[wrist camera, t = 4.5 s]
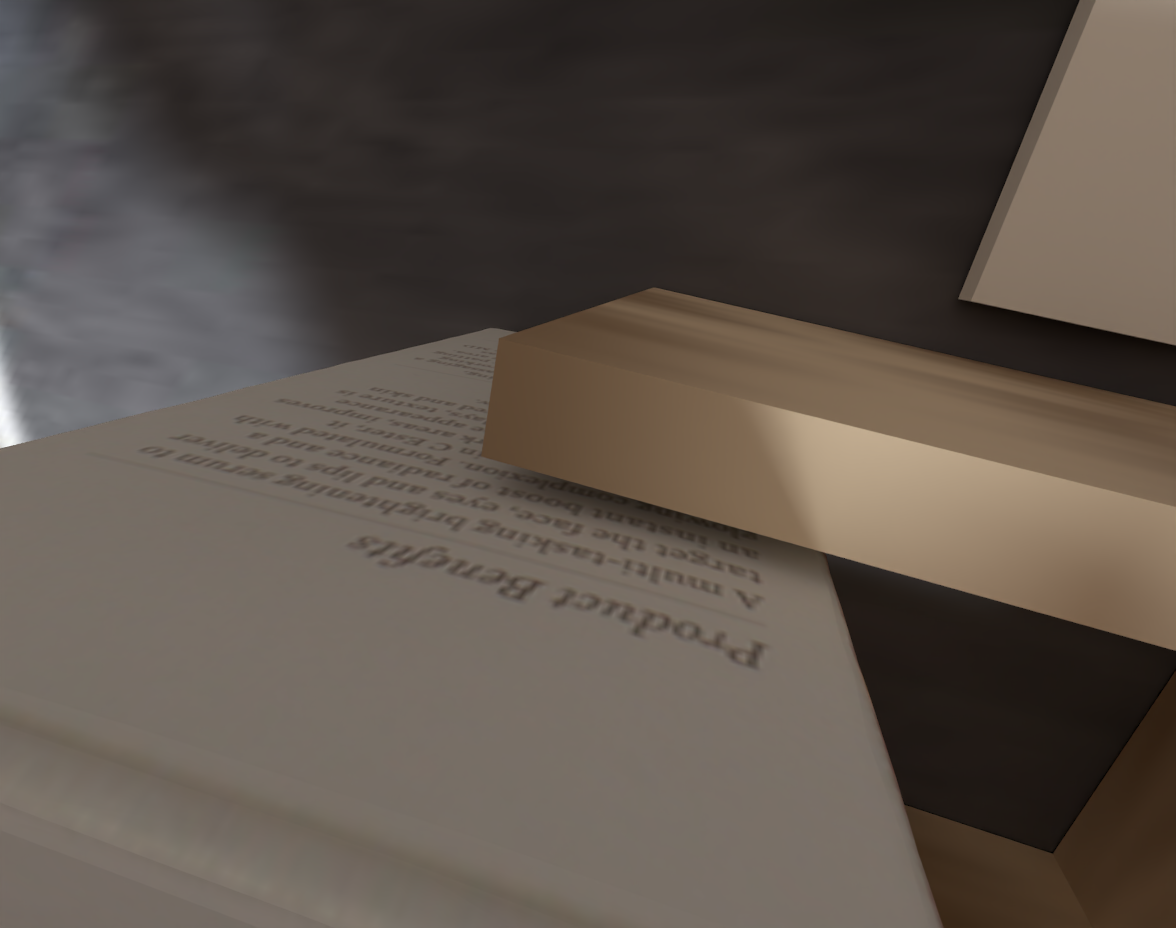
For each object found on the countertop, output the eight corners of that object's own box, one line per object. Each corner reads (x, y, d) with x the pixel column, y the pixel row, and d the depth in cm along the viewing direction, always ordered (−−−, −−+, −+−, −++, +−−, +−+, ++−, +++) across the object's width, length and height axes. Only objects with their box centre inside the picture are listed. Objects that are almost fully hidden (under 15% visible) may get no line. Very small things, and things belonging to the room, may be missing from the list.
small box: (689, 721, 14) (578, 1847, 4) (457, 656, 15) (-94, 1443, 5) (780, 371, 11) (1142, 1243, 1) (487, 316, 12) (-636, 578, 2)
